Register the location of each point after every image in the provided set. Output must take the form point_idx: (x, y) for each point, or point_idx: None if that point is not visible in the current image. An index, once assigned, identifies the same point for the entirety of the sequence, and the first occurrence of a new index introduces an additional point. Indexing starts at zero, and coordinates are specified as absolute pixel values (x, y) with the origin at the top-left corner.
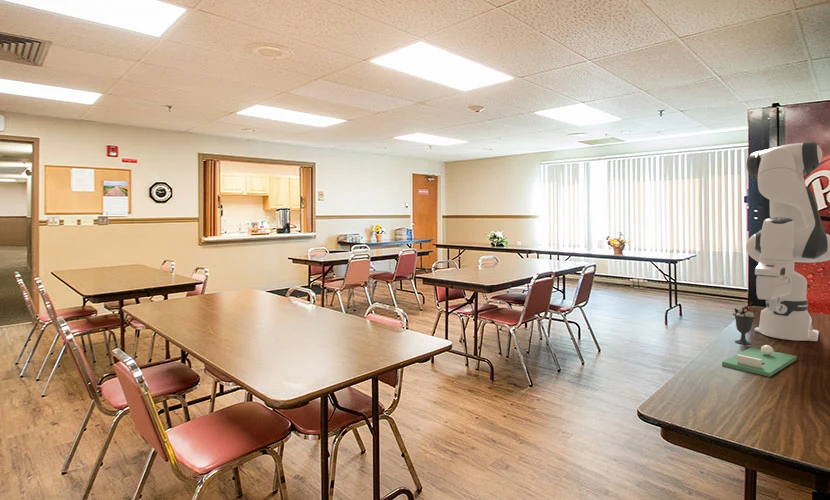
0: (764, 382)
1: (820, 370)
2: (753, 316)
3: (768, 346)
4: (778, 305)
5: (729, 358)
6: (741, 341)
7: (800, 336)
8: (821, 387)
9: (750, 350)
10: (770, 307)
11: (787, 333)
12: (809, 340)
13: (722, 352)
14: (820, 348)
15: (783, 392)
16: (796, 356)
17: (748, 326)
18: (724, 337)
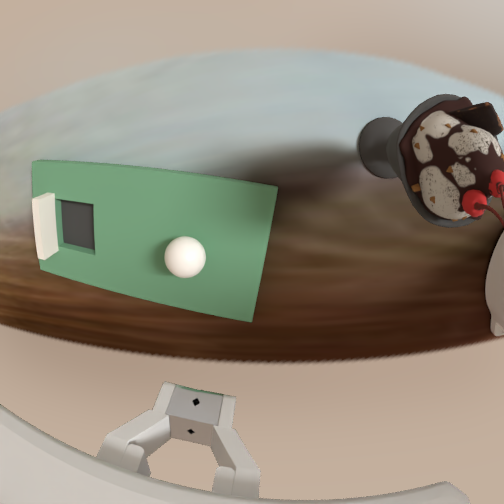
0: (17, 258)
1: (185, 355)
2: (440, 216)
3: (171, 269)
4: (210, 445)
5: (66, 164)
6: (376, 143)
7: (495, 310)
8: (71, 340)
9: (214, 194)
10: (156, 401)
11: (500, 285)
12: (491, 320)
13: (167, 107)
14: (431, 347)
15: (7, 286)
16: (250, 321)
17: (400, 178)
18: (427, 82)
